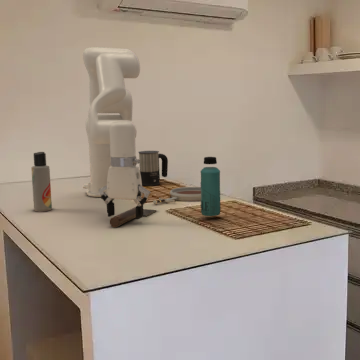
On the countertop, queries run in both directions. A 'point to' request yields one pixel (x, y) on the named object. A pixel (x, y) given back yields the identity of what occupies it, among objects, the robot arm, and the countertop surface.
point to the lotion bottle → (41, 183)
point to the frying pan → (183, 195)
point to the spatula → (128, 216)
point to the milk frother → (152, 167)
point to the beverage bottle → (210, 188)
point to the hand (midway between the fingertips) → (125, 216)
